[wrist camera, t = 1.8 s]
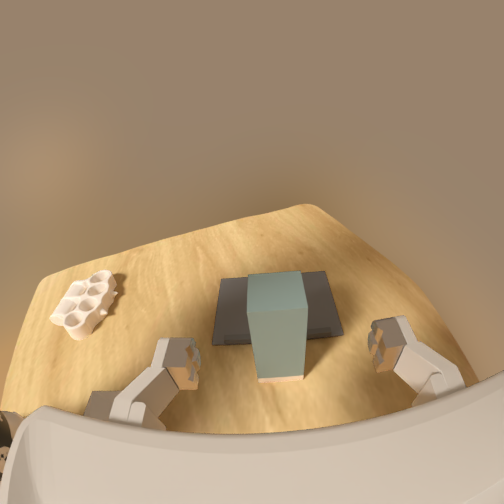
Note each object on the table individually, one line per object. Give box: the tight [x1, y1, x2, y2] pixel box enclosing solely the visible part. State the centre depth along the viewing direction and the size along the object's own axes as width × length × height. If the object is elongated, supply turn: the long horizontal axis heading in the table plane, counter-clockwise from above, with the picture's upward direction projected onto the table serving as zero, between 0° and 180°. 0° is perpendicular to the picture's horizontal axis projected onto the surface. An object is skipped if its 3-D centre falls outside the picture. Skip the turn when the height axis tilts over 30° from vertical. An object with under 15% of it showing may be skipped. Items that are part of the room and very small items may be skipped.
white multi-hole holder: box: [50, 270, 118, 340], centre depth 50 cm, size 3×18×15 cm
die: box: [83, 391, 122, 421], centre depth 26 cm, size 8×9×10 cm
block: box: [247, 271, 308, 383], centre depth 33 cm, size 6×6×14 cm
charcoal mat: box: [212, 271, 344, 345], centre depth 47 cm, size 20×16×1 cm
